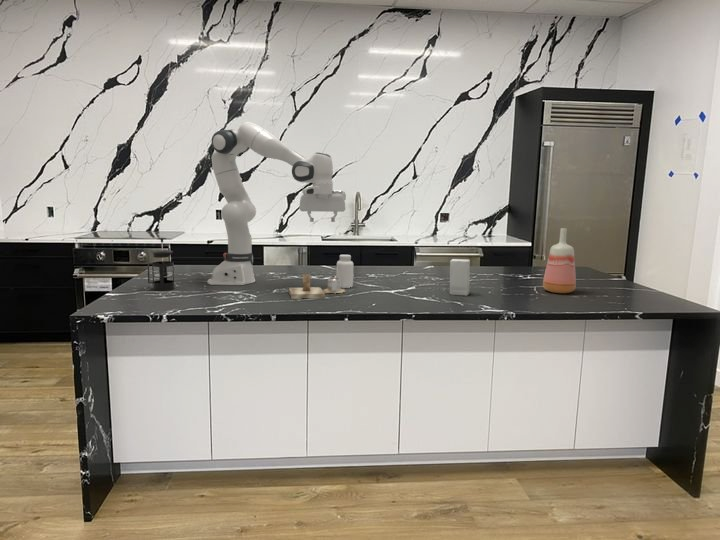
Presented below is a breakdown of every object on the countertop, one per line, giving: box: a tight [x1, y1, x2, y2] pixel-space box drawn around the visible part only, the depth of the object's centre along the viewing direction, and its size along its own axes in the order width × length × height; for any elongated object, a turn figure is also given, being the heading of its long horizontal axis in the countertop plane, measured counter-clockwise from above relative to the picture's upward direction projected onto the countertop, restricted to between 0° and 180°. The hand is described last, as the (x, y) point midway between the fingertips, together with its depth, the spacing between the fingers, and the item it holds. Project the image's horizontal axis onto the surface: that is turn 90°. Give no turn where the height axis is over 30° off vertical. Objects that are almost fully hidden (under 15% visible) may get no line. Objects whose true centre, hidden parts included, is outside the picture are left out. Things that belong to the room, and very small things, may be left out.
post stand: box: [288, 273, 326, 300], centre depth 238 cm, size 14×14×9 cm
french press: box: [147, 237, 176, 292], centre depth 244 cm, size 12×9×23 cm
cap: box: [327, 276, 341, 292], centre depth 246 cm, size 6×6×6 cm
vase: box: [542, 227, 577, 294], centre depth 254 cm, size 14×14×30 cm
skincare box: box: [449, 258, 471, 296], centre depth 245 cm, size 8×7×16 cm
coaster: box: [322, 288, 346, 295], centre depth 247 cm, size 10×10×1 cm
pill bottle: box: [335, 254, 354, 289], centre depth 258 cm, size 8×8×15 cm
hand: (322, 221), depth 244 cm, fingers open, 8 cm apart
